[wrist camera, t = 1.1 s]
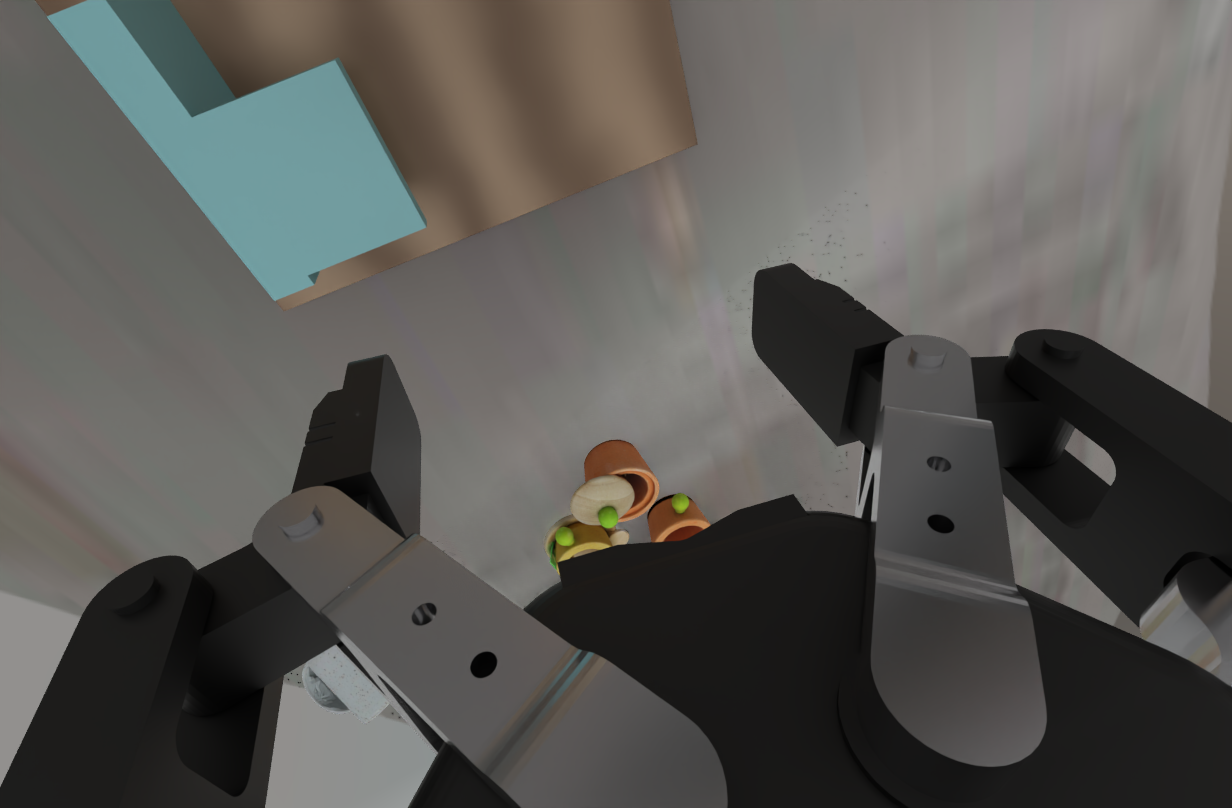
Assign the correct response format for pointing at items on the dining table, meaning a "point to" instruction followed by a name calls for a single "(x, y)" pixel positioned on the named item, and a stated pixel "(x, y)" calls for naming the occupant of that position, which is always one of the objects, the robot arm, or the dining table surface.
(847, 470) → the dining table surface
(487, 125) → the walnut board
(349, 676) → the ceramic mug
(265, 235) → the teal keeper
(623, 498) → the toy tea set
